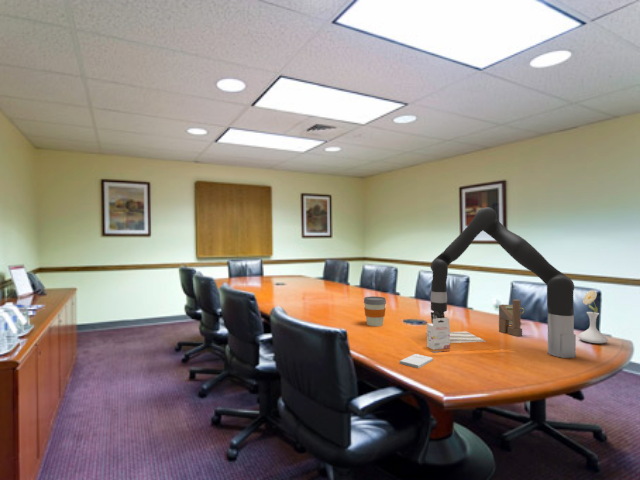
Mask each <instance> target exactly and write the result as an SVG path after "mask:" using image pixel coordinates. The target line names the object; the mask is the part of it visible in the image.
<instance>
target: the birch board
mask: <svg viewBox="0 0 640 480" xmlns="http://www.w3.org/2000/svg"><path fill="white" fill-rule="evenodd" d="M425 334H426V335H427V332H425ZM484 342H487V341H486V340H485V339H483V338H482V337H481V338H480V337H479V336H476V335H474V334H472V333H470V332H469V331H450V344H454V343H456V344H457V343H484Z"/></svg>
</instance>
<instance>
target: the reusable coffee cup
mask: <svg viewBox="0 0 640 480" xmlns="http://www.w3.org/2000/svg"><path fill="white" fill-rule="evenodd" d="M386 300H387V299H386V297H384V296H366V297H364V298H363V303H364V315H365V317H366V319H365V320H366V325H367V326H370V327H381V326H383V325H384V318H385V314H386V304H387V301H386Z"/></svg>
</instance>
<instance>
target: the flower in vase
mask: <svg viewBox="0 0 640 480" xmlns="http://www.w3.org/2000/svg"><path fill="white" fill-rule="evenodd" d="M597 295H598V293H597V291H596V290H595V289H594V290H589V291H588V292H586V293H585V295H584V296H583V298H582V300H583V301H582V304H584V305H585V306H587V305H588V308H589V309H591V310H592V311H586V315H587V316H588V318H589V327H588V328H587V329H586V330H584V331H582V332H580V333H579V334H578V338H579V340H581V341H583V342H587V343H592V344H606V343H608V341H609V340H608V338H607V336H605V334H603V333H602V332H601V331H599V330H598V328H597V318H598V316H599V315H600V313H599V310H598V307H597V306H596V303H595V300H596V299H597ZM592 303H593V304H594V307H593V306H592Z"/></svg>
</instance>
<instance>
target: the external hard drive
mask: <svg viewBox="0 0 640 480" xmlns="http://www.w3.org/2000/svg"><path fill="white" fill-rule="evenodd" d="M433 361H434V358H433V357H431V356H426V355H422V354H418V353H414V354H412V355H409V356H407V357H405V358H403V359H401V360H399V361H398V362H399V364H400V365H404V366H407V367H410V368H411V367H413V368H414V369H415V368H416V369H420V368H422V367H423V366H425V365H427V364H429V363H431V362H433Z"/></svg>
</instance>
